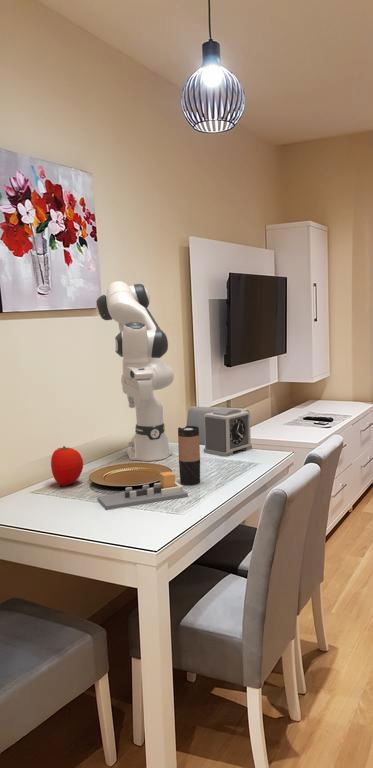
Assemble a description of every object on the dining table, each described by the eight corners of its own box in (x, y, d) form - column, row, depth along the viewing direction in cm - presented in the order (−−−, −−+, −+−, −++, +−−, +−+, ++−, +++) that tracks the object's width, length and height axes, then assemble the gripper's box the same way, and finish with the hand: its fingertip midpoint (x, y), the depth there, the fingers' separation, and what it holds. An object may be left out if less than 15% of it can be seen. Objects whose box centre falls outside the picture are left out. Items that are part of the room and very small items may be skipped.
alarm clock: (226, 457, 258) (224, 413, 256) (202, 452, 267) (201, 410, 265) (253, 448, 272) (252, 407, 269) (229, 444, 281) (228, 404, 278)
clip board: (97, 500, 208) (97, 489, 207) (175, 487, 218) (175, 477, 218) (106, 509, 198) (105, 498, 197) (187, 496, 208) (187, 486, 208)
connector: (171, 488, 214) (170, 471, 213) (175, 491, 210) (174, 474, 209) (123, 495, 207) (122, 478, 207) (127, 499, 204) (126, 481, 203)
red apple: (61, 478, 235) (59, 441, 233) (89, 479, 232) (87, 442, 230) (45, 488, 223) (43, 449, 221) (74, 490, 220) (72, 450, 218)
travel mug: (198, 486, 220) (197, 430, 217) (177, 485, 221) (175, 430, 218) (202, 479, 227) (200, 425, 224) (182, 479, 229) (180, 425, 226)
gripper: (117, 367, 221) (118, 405, 223) (136, 375, 202) (137, 416, 204) (134, 366, 223) (135, 404, 225) (154, 373, 205) (155, 414, 207)
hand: (136, 410), depth 215 cm, fingers open, 8 cm apart
